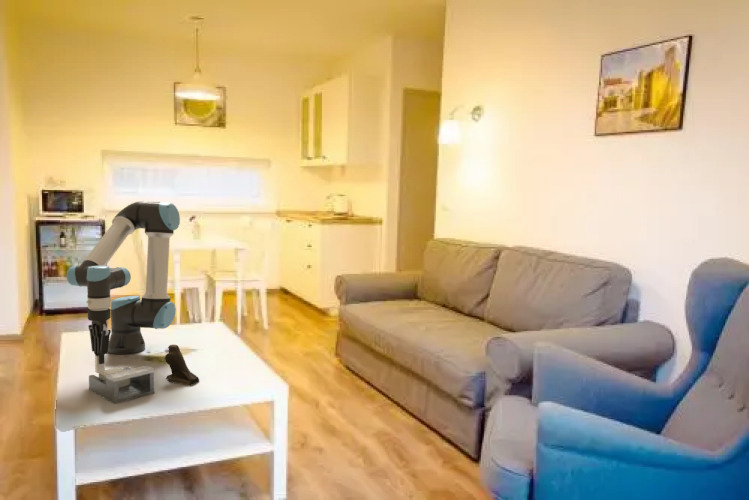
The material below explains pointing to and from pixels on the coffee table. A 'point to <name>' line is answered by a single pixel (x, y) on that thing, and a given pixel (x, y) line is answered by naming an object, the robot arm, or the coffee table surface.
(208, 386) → the coffee table surface
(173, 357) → the sculpture
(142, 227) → the robot arm
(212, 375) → the coffee table surface
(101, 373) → the small box
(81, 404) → the coffee table surface
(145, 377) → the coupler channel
